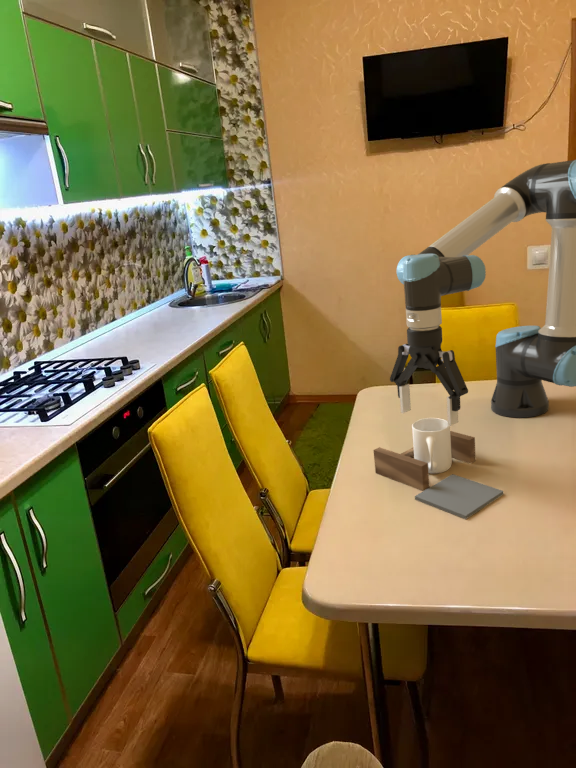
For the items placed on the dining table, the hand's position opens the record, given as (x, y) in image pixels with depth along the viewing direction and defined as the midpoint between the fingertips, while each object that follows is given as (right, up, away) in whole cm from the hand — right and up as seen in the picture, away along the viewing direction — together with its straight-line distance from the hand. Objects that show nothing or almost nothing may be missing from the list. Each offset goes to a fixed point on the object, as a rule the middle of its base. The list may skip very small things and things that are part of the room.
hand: (428, 417), depth 141 cm
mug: (+2, -13, +4) cm, 13 cm away
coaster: (+4, -16, -9) cm, 19 cm away
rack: (+1, -12, +6) cm, 13 cm away
